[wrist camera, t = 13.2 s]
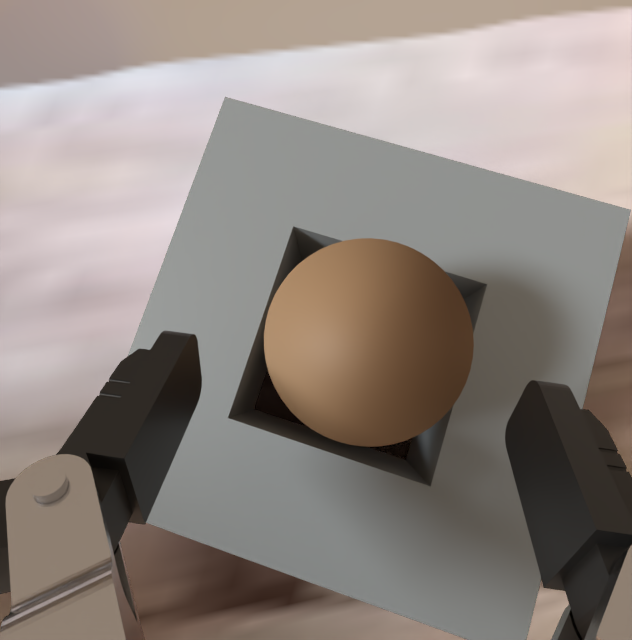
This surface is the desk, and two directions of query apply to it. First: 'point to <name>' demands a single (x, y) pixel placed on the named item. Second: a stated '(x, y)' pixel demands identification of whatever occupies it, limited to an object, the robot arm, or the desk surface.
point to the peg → (368, 342)
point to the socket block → (425, 449)
